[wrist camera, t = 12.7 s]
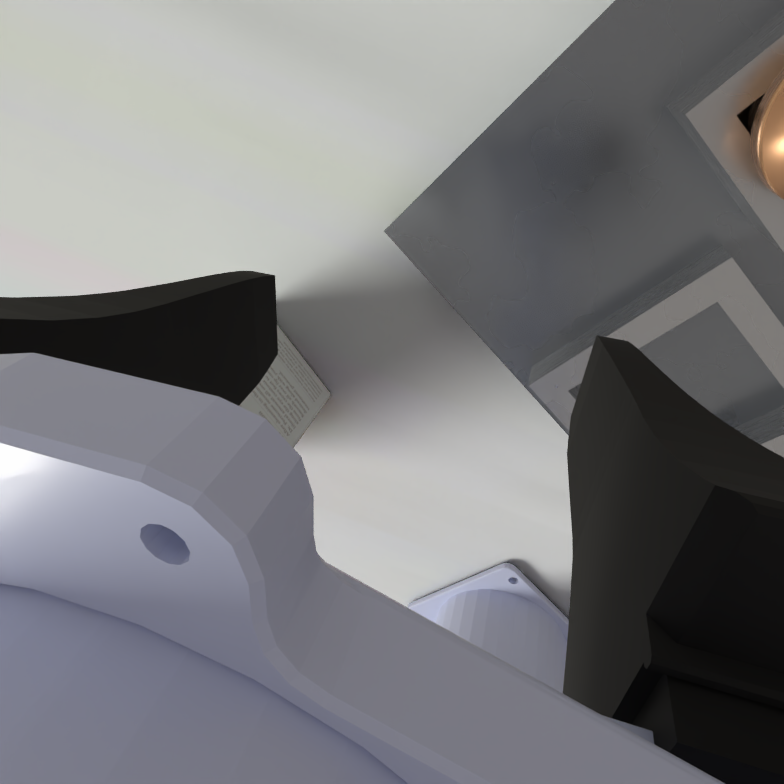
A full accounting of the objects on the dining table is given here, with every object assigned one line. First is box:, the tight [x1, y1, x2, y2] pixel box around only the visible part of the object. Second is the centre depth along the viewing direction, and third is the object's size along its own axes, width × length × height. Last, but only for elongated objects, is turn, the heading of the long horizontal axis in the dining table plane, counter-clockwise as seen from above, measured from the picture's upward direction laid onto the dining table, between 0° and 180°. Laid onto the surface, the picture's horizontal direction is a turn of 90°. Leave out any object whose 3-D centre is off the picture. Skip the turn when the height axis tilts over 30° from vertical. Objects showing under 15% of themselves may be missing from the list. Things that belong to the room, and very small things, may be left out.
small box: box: [239, 325, 331, 448], centre depth 23 cm, size 8×6×10 cm
